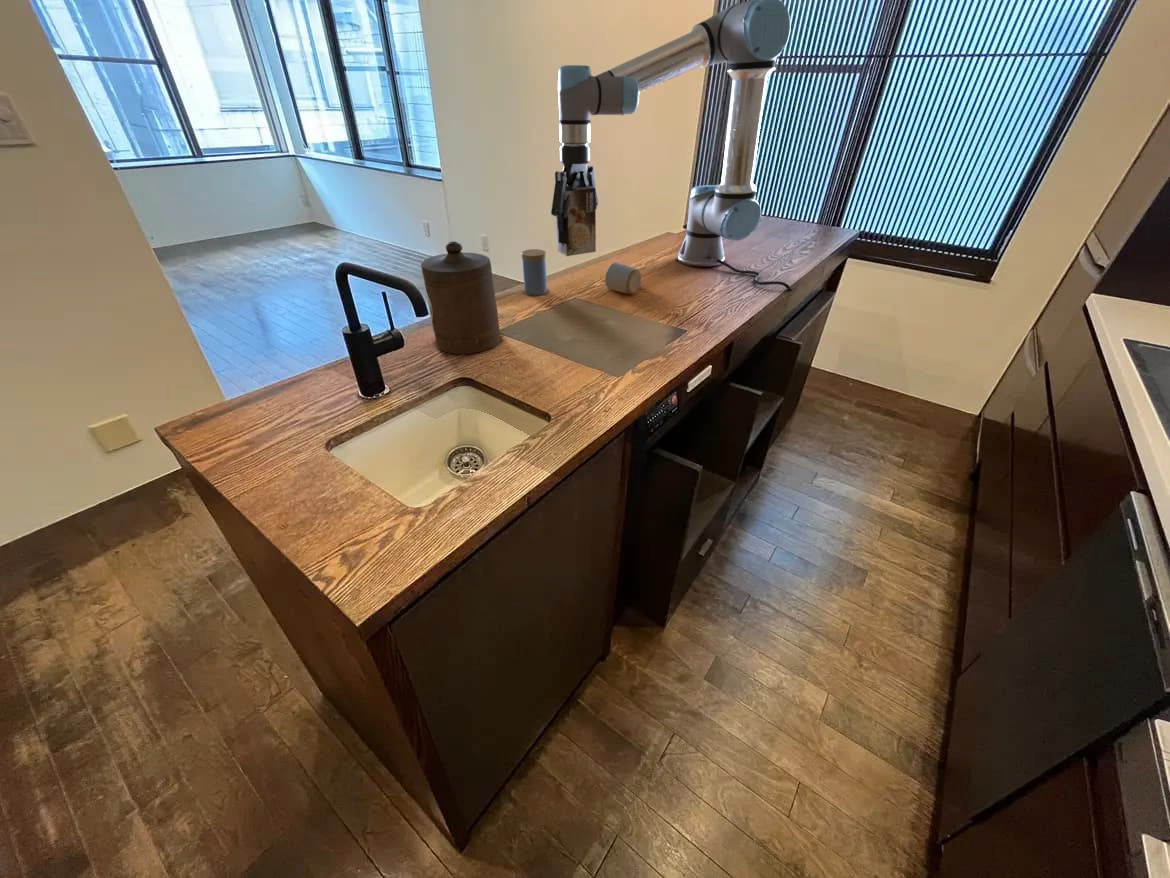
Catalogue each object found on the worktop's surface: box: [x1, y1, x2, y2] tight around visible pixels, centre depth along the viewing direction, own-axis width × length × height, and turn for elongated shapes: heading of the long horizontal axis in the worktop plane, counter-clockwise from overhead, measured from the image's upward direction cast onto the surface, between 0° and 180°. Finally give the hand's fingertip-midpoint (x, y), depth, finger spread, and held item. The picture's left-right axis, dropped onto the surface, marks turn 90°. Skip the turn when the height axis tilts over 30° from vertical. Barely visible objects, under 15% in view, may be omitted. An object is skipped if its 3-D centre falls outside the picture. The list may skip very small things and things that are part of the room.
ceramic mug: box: [604, 261, 643, 295], centre depth 138 cm, size 11×8×8 cm
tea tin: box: [520, 248, 548, 296], centre depth 137 cm, size 7×7×11 cm
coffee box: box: [555, 186, 597, 257], centre depth 129 cm, size 9×6×16 cm
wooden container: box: [420, 241, 501, 355], centre depth 106 cm, size 15×15×22 cm
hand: (576, 238), depth 132 cm, fingers closed on coffee box, 10 cm apart
